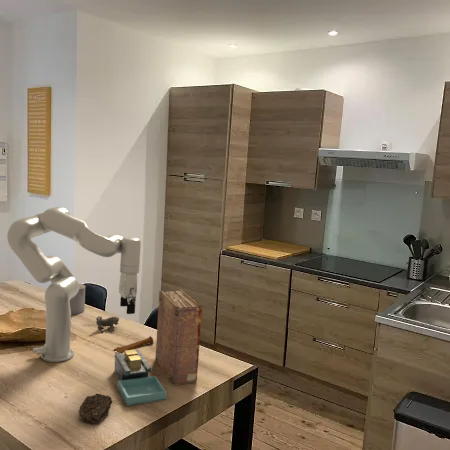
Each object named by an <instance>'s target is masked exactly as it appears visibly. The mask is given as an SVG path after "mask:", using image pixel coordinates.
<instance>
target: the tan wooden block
mask: <svg viewBox="0 0 450 450" xmlns="http://www.w3.org/2000/svg"><path fill="white" fill-rule="evenodd" d="M128 365H129V367H130V368H137V367H141V358H140V356H139V355H135V356H128Z"/></svg>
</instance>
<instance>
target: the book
mask: <svg viewBox="0 0 450 450" xmlns="http://www.w3.org/2000/svg"><path fill="white" fill-rule="evenodd" d="M158 292H159V293H158V307H157V308H158V309H157V326H156V339H155V340H156V341H155V361H156V362H157V364H159V366H160V368H161V369H162V371H163V372H164V374H165V375H166V376H167V378H168V380H169V381H170V382H171V384H172V385H173V386H178V385H179V386H180V385H189V384H194V383H195V384H196V383H197V382H198V371H199V370H198V369H199V356H200V354H199V352H200V344H201V342H200V341H201V331H202V327H201V326H202V319H203V318H202V317H203V316H202V315H203V307H202V306H201V305H200V304H199V303H197V301H195V300H194V299H193V298H191V296H189V295H188V294H187V293H186V292H185V291H184V290H182V289H178V290H175V291H174V290H173V291H172V290H171V291H162V289H159V291H158Z"/></svg>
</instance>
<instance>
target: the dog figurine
mask: <svg viewBox="0 0 450 450" xmlns="http://www.w3.org/2000/svg"><path fill="white" fill-rule="evenodd" d="M119 321H120V318H119V317H118V316H111V317H108V318H104V319H103V317H102V316H101V315H100V316H97V317H96V325H97V330H99V332H101V334H102V333H103V334H104V331H103V329H104V327H105V328H106V327H107V329H108V330H110V331H115V327H116V326H117V325H119ZM114 325H115V326H114Z"/></svg>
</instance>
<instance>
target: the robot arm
mask: <svg viewBox="0 0 450 450" xmlns="http://www.w3.org/2000/svg"><path fill="white" fill-rule="evenodd" d="M49 232H54V233H56V234H58V235H61V236H64V237H66V238H67V239H70V240H73V241H74V242H76V244H78V245H79V246H80V247H82V248H83V249H84V250H87V251H89V252H91V253H93V254H95V255H98V256H100V257H102V258H111V257H114V256H115V255H117V254H120V262H119V263H120V265H119V266H120V267H119V272H120V276H119V284H118V285H119V287H118V293H119V295H120V300H119V301H120V302H119V303H120V304H119V305H120V307H126V314H127V315H133V314H136V303H137V300H136V299H137V294H138V292H137V291H138V274H139V273H140V263H141V262H140V261H141V248H142V247H141V245H142V241H141V239H140V238H138V237H135V236H134V237H131V236H129V237H127V236H121V235H119V234H118V235H117V234H111V235H108V236H103V235H100V234H98V233H96V232H95V231H93V230H91V229H90V228H89V227H88V225H87V223H86V221H84V220H82V219H80V218H78V217H75V216H72V215H71V213H70V212H69V211H68V209H66V208H65V207H63V206H56V207H51V208H47V209H46V210H45V211H44V212H41V213H37V214H35V215H31V216H27V217H22V218H19V219H17V220H15V221H14V222H12V224H10V226H9V228H8V231H7V235H6V237H7V243H8V246H9V247H10V249H11V250H12V251H13V253H14V254H15V255H16V256H17V257H18V259H19V260H20V261H21V263H22V265H23V266H24V267H25V268H26V269H27V271H28V272H29V274H30V275H31V276H32V277H33V279H34V280H35V281H36V282H37V283H40V284H46V283H48V282H51V283H50V284H49V285H48V286H47V288H46V290H45V293H44V301H45V313H46V314H45V343H44V344H43V346H41V347H33V348H32V351H33V352H32V353H34V354H35V353H36V355H40V356H41V357H40V358H41V359H42V360H44V361H46V362H50V363H59V362H65V361H68V360H70V359H72V358H73V357H74V355H75V353H74V350H73V349H71V328H72V327H71V323H72V314H71V309H70V299H71V298H73V297H74V296H75V295H76V294H77V293H78V291H79V284H80V283H79V281H78V280H77V277H75V275H74V274H73V272H72V271H71V270H70V269H69V267H68V266H67V265H66V263H65V262H64V261H63V260H62V259H61V258H59V257H57V256H55V255H47V256H46V255H45V253H44V252H43V251H42V249H41V248H40V247H39V246H38V245H37V243H34V242H33V241H32V238H35V237H38V236H41V235H44V234H47V233H49Z"/></svg>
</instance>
